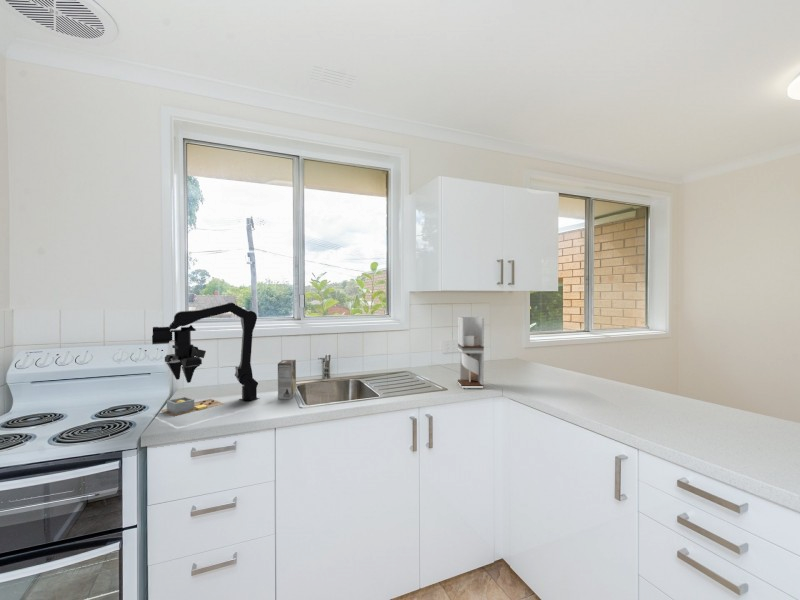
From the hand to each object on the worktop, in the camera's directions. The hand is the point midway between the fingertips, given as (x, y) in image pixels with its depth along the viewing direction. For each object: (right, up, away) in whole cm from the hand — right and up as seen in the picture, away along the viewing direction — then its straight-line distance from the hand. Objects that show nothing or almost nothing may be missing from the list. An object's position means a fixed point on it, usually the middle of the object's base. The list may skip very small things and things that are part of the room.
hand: (183, 380), depth 150 cm
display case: (+124, -12, +40) cm, 130 cm away
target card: (+7, -12, +1) cm, 14 cm away
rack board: (+3, -12, +2) cm, 12 cm away
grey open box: (0, -12, -2) cm, 12 cm away
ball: (0, -11, -2) cm, 11 cm away
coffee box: (+36, -12, +20) cm, 43 cm away
